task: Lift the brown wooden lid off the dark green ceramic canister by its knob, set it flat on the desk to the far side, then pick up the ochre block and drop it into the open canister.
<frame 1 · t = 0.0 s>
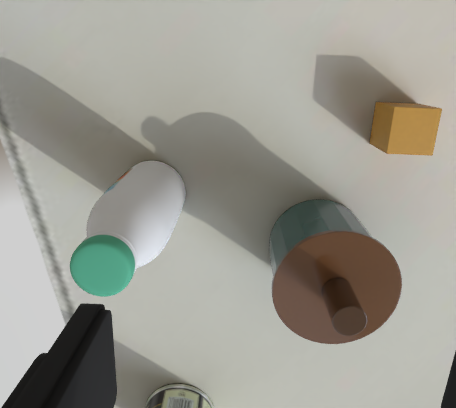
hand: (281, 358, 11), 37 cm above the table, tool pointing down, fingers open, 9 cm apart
lid: (335, 287, 40), point 10 cm above the table, touching canister
block: (393, 123, 45), on the table
canister: (315, 243, 50), on the table
milk bottle: (155, 190, 48), on the table
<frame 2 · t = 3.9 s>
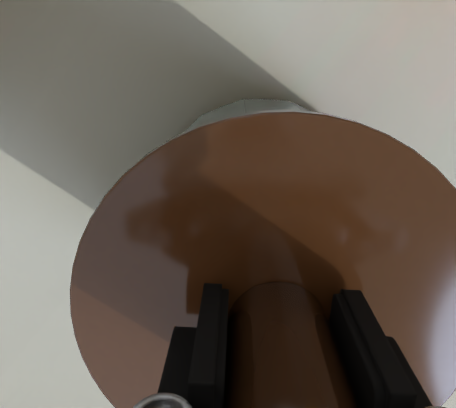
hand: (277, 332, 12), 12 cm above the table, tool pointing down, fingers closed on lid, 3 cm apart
lid: (274, 312, 13), point 11 cm above the table, touching canister, gripper
canister: (259, 204, 23), on the table
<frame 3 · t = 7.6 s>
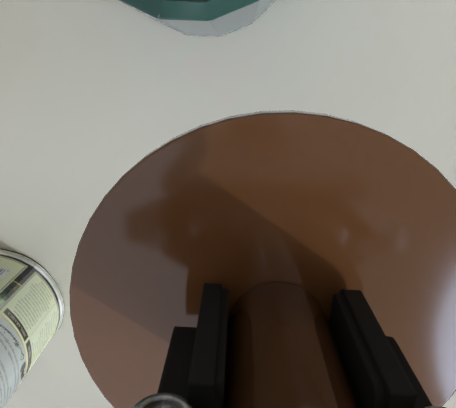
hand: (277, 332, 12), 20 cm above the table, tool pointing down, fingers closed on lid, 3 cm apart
lid: (274, 313, 13), point 19 cm above the table, touching gripper
coffee can: (9, 300, 35), on the table
when the fingers open (2 cm above the table, at t = 11.7 s): lid stays where it is, point 1 cm above the table.
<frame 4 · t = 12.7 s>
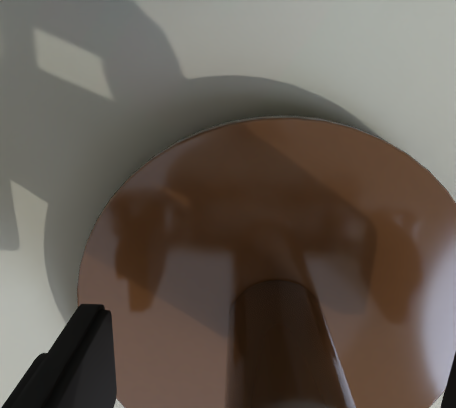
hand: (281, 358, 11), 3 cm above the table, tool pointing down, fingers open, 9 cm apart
lid: (274, 310, 13), point 1 cm above the table
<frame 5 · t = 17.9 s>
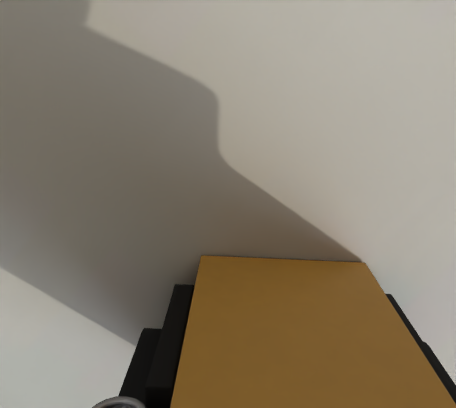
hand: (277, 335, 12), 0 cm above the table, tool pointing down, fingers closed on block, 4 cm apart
block: (276, 327, 12), on the table, touching gripper
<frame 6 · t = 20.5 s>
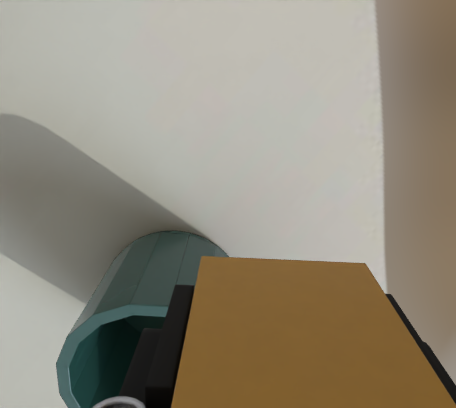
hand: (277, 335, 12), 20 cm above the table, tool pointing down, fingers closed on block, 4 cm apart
block: (277, 328, 12), point 20 cm above the table, touching gripper
canister: (175, 292, 34), on the table
when the fingers open (10 cm above the table, at t = 23.4 s): block drops 9 cm, resting on canister.
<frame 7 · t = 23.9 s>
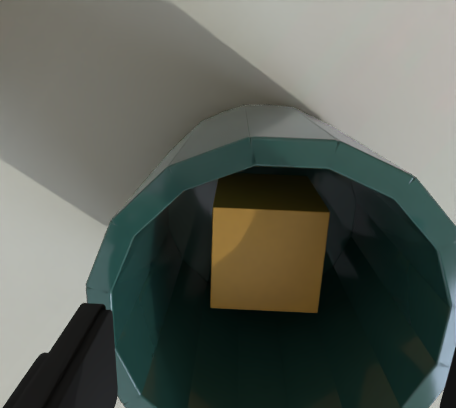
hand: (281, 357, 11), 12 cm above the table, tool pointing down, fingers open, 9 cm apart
block: (260, 215, 22), resting on canister
canister: (260, 211, 22), on the table
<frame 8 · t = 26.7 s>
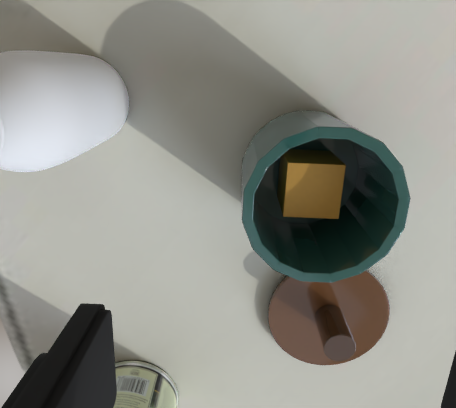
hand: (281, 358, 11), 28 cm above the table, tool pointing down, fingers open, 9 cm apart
lid: (327, 313, 42), point 1 cm above the table
block: (303, 173, 37), resting on canister
canister: (302, 172, 38), on the table
coffee can: (137, 393, 48), on the table
milk bottle: (89, 99, 36), on the table
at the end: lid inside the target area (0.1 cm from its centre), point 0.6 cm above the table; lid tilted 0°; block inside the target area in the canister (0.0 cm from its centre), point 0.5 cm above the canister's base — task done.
